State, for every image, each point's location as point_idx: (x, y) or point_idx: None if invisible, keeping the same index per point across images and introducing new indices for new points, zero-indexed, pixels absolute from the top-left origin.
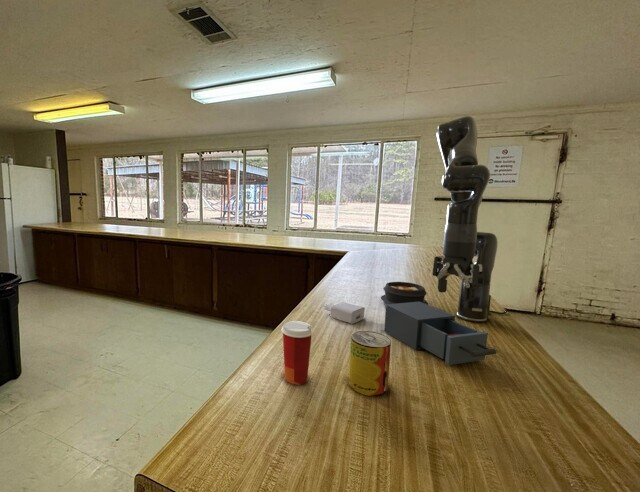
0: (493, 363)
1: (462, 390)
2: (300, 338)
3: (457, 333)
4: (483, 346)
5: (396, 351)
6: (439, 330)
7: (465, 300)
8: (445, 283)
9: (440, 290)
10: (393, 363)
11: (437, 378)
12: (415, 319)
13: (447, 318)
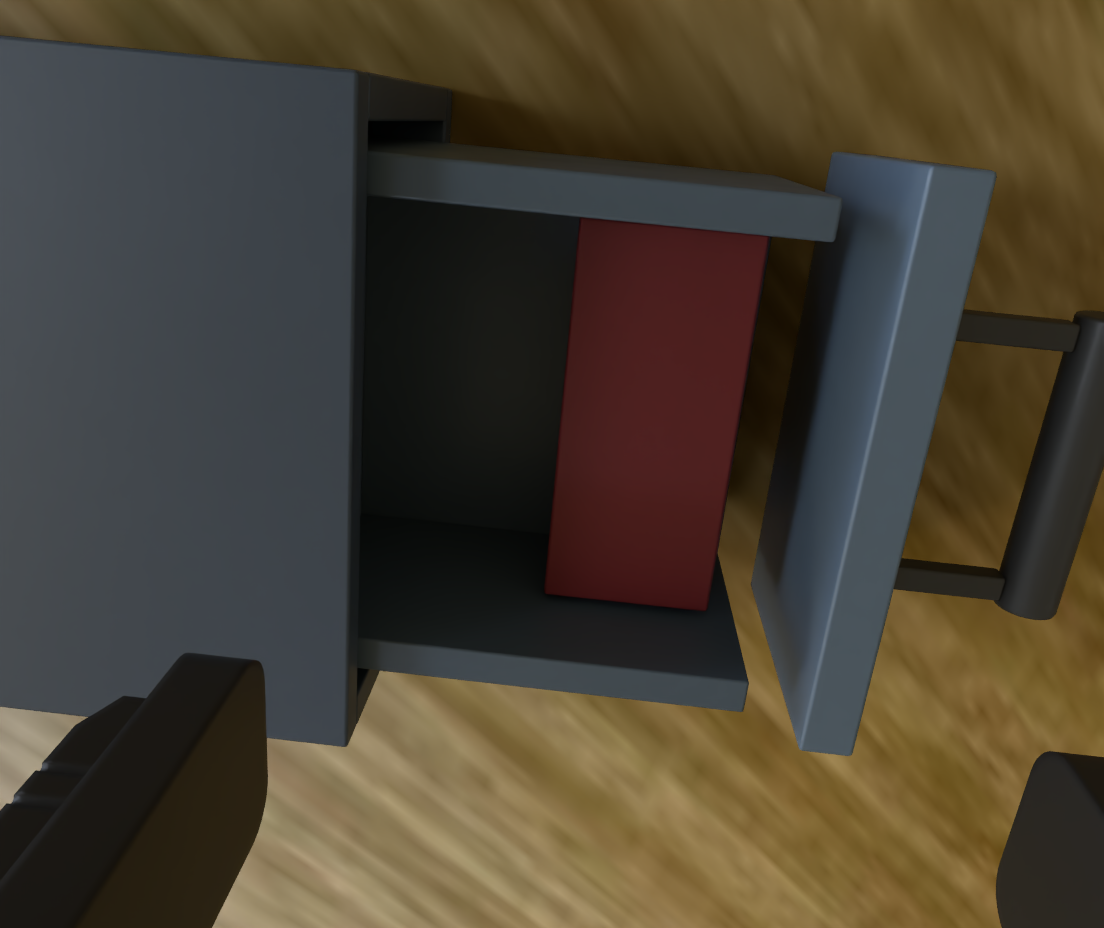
0: (919, 69)
1: (1033, 747)
2: None
3: (594, 264)
4: (996, 341)
5: (399, 714)
6: (628, 674)
7: (1015, 888)
8: (143, 886)
9: (246, 853)
10: (557, 867)
11: (847, 766)
12: (303, 733)
13: (363, 242)
